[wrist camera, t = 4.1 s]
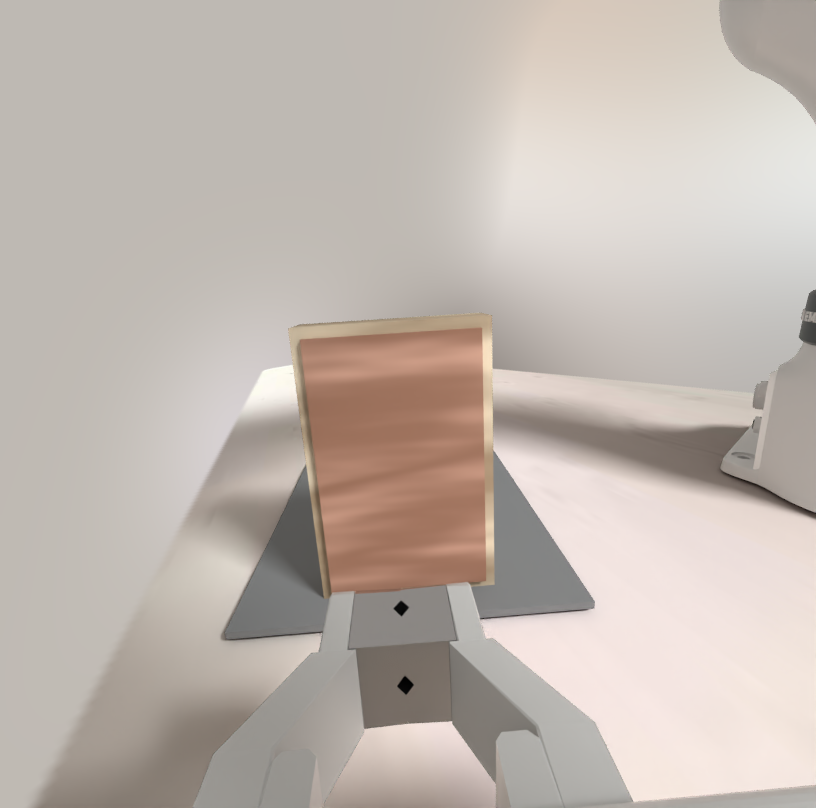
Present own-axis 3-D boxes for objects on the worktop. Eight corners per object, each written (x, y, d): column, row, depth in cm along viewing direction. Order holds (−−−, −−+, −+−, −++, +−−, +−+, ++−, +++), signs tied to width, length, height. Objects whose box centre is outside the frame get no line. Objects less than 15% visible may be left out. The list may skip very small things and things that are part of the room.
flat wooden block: (496, 588, 22) (493, 315, 18) (323, 602, 22) (286, 329, 18) (484, 556, 25) (479, 312, 21) (330, 568, 24) (299, 324, 21)
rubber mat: (594, 608, 21) (594, 601, 21) (226, 639, 20) (225, 632, 20) (490, 449, 42) (490, 445, 42) (309, 462, 42) (309, 458, 41)
